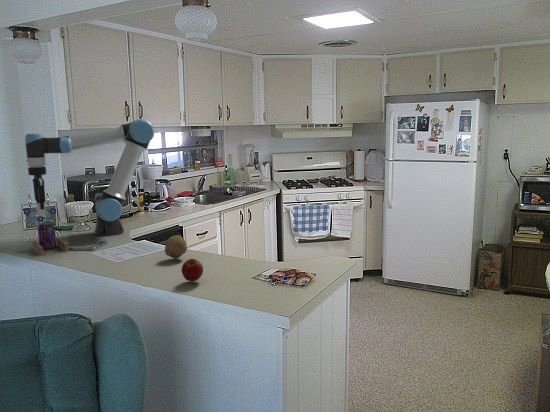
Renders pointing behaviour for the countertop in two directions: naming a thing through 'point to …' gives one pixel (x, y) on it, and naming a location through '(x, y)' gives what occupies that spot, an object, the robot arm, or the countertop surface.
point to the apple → (192, 270)
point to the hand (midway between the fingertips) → (41, 215)
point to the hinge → (88, 247)
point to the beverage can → (47, 235)
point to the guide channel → (60, 243)
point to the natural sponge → (175, 247)
